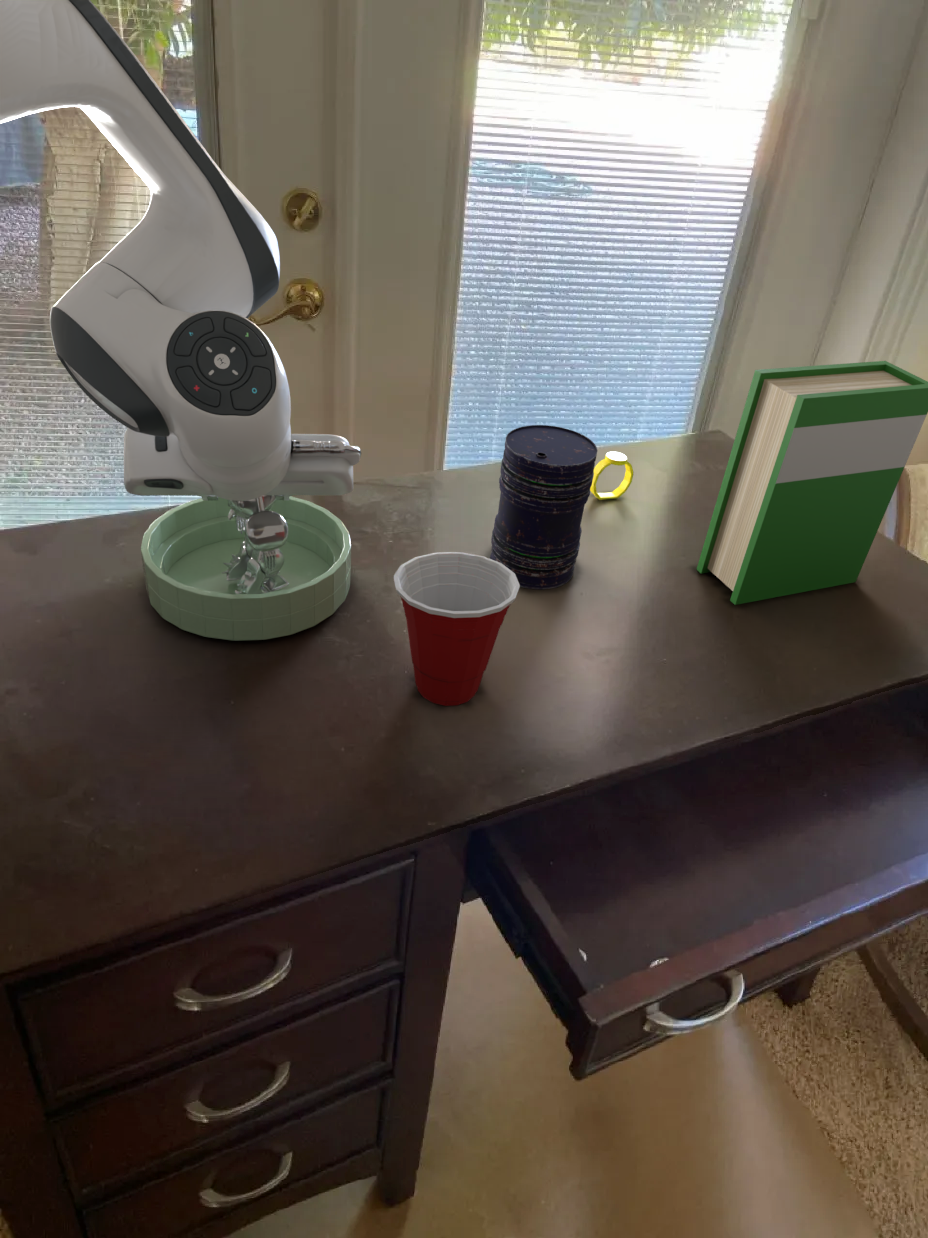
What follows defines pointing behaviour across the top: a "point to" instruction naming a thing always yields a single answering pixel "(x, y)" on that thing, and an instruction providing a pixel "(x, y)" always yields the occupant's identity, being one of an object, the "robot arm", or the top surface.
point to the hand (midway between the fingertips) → (245, 492)
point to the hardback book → (811, 476)
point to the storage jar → (542, 503)
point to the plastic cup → (453, 619)
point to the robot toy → (258, 546)
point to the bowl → (206, 602)
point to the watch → (609, 459)
